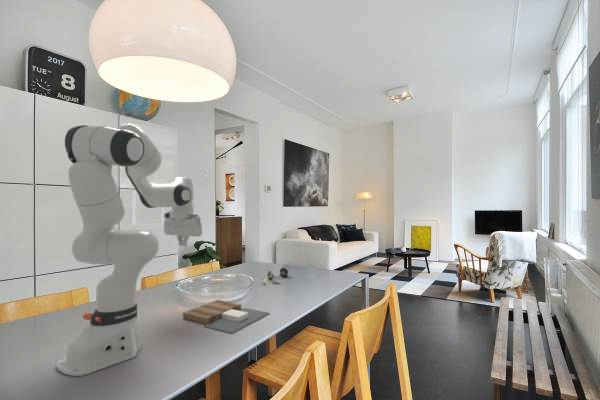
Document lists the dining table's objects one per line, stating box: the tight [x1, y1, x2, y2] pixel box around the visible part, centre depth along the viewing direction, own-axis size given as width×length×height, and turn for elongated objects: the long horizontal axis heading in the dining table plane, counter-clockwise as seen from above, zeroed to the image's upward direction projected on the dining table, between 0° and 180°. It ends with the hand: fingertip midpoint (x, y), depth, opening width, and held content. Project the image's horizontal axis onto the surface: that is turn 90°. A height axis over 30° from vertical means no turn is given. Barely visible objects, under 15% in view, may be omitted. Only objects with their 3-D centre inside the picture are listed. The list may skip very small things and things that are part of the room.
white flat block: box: [222, 309, 248, 322], centre depth 130 cm, size 6×9×2 cm, turn 61°
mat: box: [203, 307, 270, 335], centre depth 129 cm, size 24×14×1 cm, turn 151°
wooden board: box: [182, 299, 242, 326], centre depth 136 cm, size 20×14×2 cm
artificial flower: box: [260, 267, 289, 287], centre depth 193 cm, size 9×22×10 cm, turn 147°
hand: (182, 245), depth 138 cm, fingers closed
